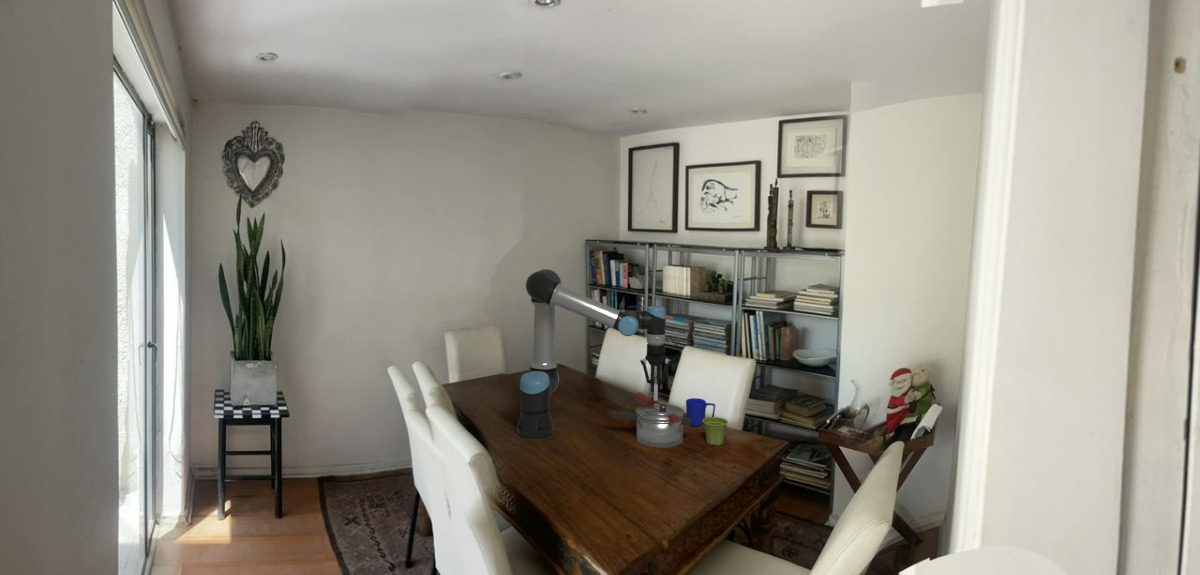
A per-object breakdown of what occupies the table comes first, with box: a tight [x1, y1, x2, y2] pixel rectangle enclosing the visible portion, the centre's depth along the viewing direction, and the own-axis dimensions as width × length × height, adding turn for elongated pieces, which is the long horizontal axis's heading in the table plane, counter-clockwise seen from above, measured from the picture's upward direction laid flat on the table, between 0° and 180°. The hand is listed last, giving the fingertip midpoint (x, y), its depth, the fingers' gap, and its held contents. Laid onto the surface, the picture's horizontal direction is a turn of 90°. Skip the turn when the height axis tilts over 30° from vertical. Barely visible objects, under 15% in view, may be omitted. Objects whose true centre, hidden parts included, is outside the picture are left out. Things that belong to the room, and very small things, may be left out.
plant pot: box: [703, 416, 728, 446], centre depth 220 cm, size 9×9×9 cm
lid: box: [634, 391, 685, 423], centre depth 227 cm, size 32×19×4 cm, turn 23°
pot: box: [610, 410, 692, 449], centre depth 226 cm, size 32×18×10 cm, turn 73°
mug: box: [685, 397, 716, 427], centre depth 241 cm, size 8×12×10 cm
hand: (655, 399), depth 239 cm, fingers closed
